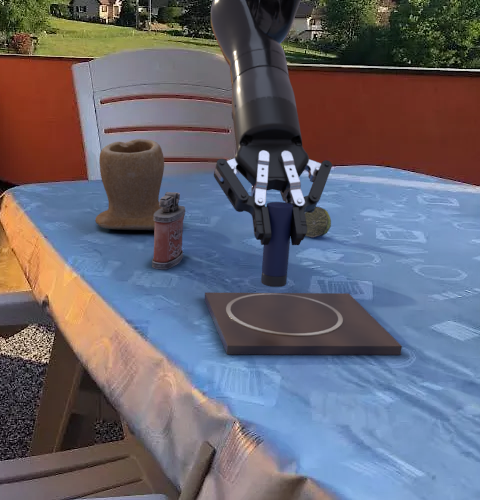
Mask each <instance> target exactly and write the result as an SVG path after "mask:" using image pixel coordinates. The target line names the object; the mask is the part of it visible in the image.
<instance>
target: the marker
mask: <svg viewBox="0 0 480 500" xmlns="http://www.w3.org/2000/svg"><path fill="white" fill-rule="evenodd" d="M266 207H268V211H269V219H270V226H271V240H270V242H269V244H268V245H263V248H262V249H263V250H262V263H261V264H262V265H261V275H260V276H261V277H260V283H261V284H262V285H264V286H266V287H272V288H281V287H284V286H286V285H287V281H288V270H289V269H288V268H289V267H288V266H289V259H290V258H289V257H290V245H291V236H290V235H291V223H292V212H293V205H292V204H289V203H285V201H269V202H268V203H266Z"/></svg>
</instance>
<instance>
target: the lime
mask: <svg viewBox="0 0 480 500" xmlns="http://www.w3.org/2000/svg"><path fill="white" fill-rule="evenodd" d="M305 217H306V224H307V233H306V235H305V237H308V238H320V237H323V236H325V235H326V234H328V232H329V231H330V229H331V227H332V220H331V216H330V214H329V212H328V211H327V210H326V209H325V208H323V207H320V206H316V207H315V210H314V211H313V212H312V213H308V212H305Z"/></svg>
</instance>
